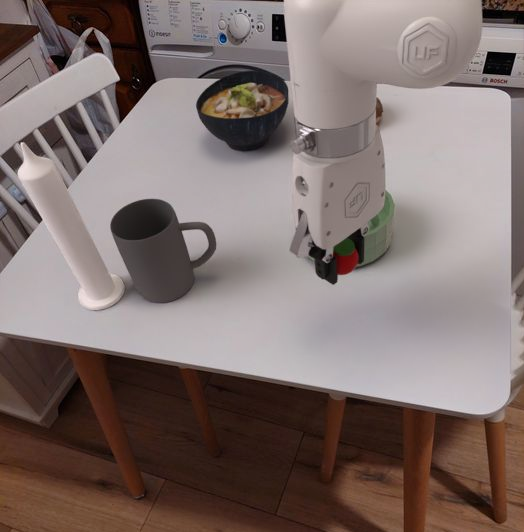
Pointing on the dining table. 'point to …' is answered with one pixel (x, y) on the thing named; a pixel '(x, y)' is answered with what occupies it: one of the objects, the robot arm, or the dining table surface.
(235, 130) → the bowl
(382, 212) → the fruit bowl
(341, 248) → the strawberry
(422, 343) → the dining table surface
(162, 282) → the mug
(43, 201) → the candle
